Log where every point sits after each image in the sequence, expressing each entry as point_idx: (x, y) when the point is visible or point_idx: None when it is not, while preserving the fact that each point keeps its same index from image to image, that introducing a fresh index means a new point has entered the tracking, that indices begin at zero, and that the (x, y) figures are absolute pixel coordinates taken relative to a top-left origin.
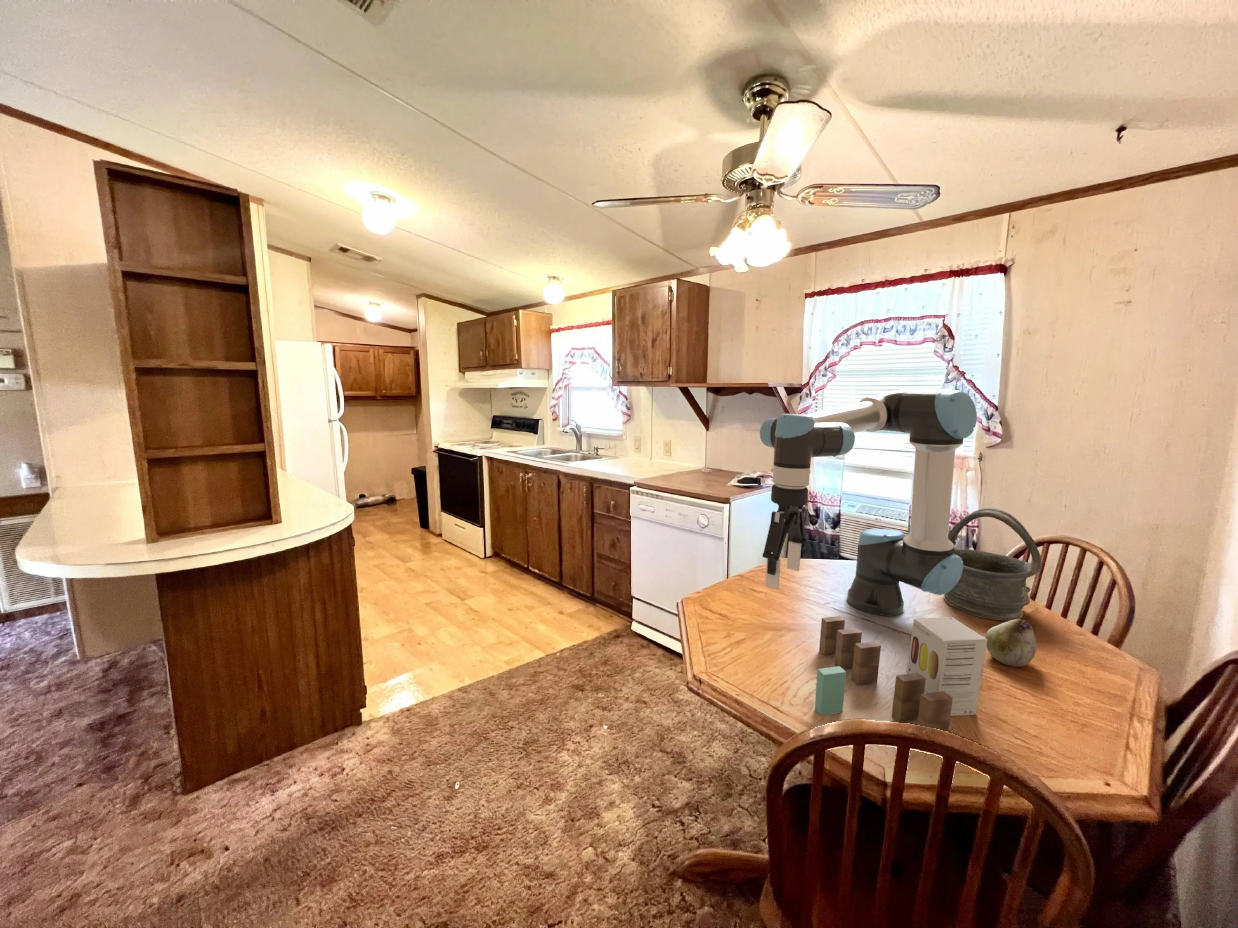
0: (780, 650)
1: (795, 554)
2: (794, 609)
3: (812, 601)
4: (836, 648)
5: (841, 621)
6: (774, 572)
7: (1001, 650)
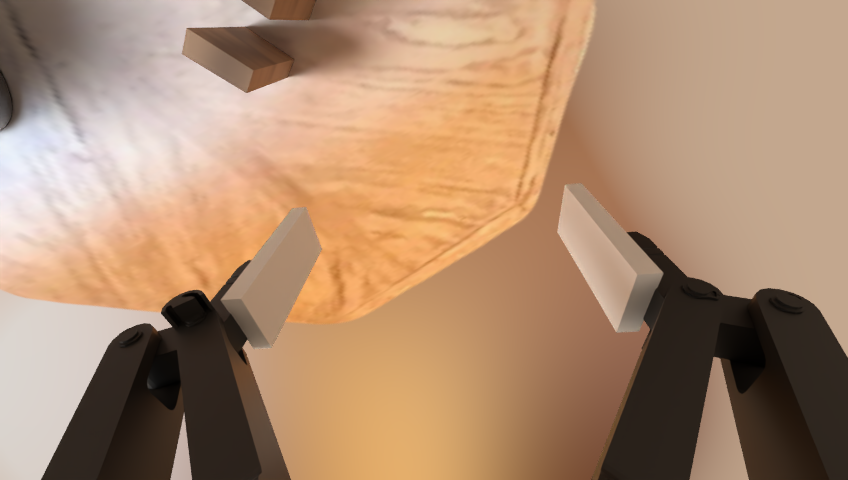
0: (355, 143)
1: (283, 269)
2: (184, 196)
3: (111, 184)
4: (293, 17)
5: (202, 36)
6: (640, 239)
7: None
